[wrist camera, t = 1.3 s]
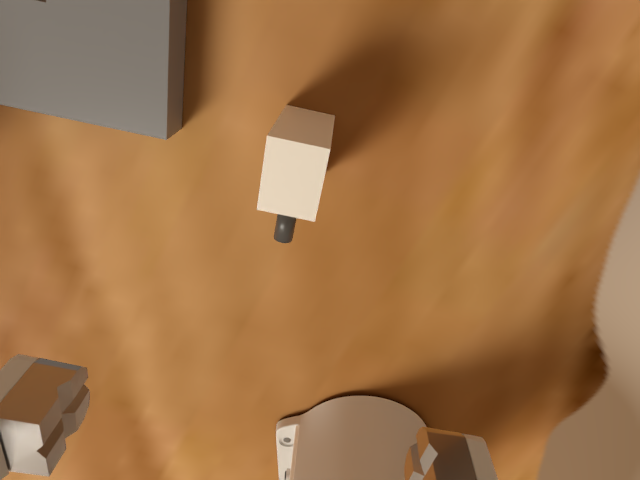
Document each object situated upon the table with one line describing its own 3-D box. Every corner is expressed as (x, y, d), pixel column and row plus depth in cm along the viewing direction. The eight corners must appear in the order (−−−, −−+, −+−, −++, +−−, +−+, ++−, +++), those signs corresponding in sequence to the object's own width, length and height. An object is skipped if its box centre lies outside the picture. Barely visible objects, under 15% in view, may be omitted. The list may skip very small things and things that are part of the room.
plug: (316, 202, 34) (307, 255, 27) (272, 193, 33) (251, 244, 26) (335, 115, 30) (330, 149, 23) (286, 104, 30) (267, 135, 23)
